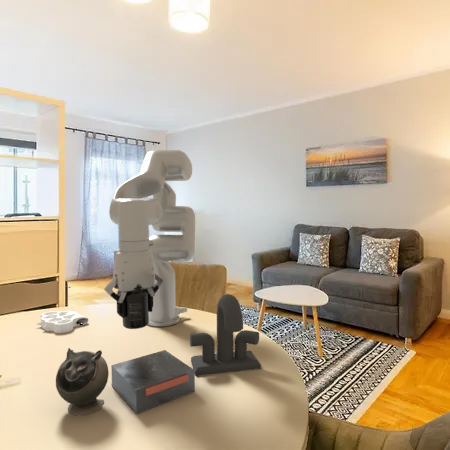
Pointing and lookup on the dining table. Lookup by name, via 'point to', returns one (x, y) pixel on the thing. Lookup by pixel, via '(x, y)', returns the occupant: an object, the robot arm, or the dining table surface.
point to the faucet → (225, 342)
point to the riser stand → (152, 380)
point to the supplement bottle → (136, 308)
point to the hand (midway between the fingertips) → (135, 312)
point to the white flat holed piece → (61, 321)
